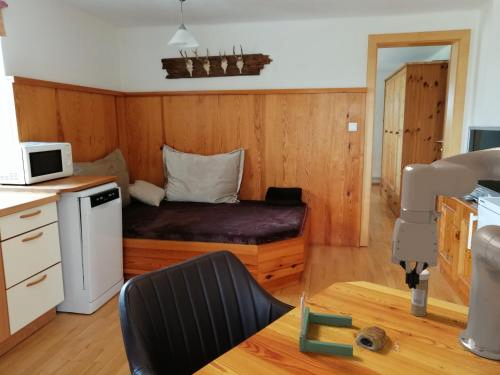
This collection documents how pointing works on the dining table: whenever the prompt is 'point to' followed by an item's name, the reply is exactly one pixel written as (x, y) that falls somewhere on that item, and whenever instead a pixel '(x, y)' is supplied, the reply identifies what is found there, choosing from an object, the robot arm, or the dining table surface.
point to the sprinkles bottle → (420, 295)
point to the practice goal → (319, 345)
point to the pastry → (371, 338)
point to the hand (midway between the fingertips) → (411, 286)
